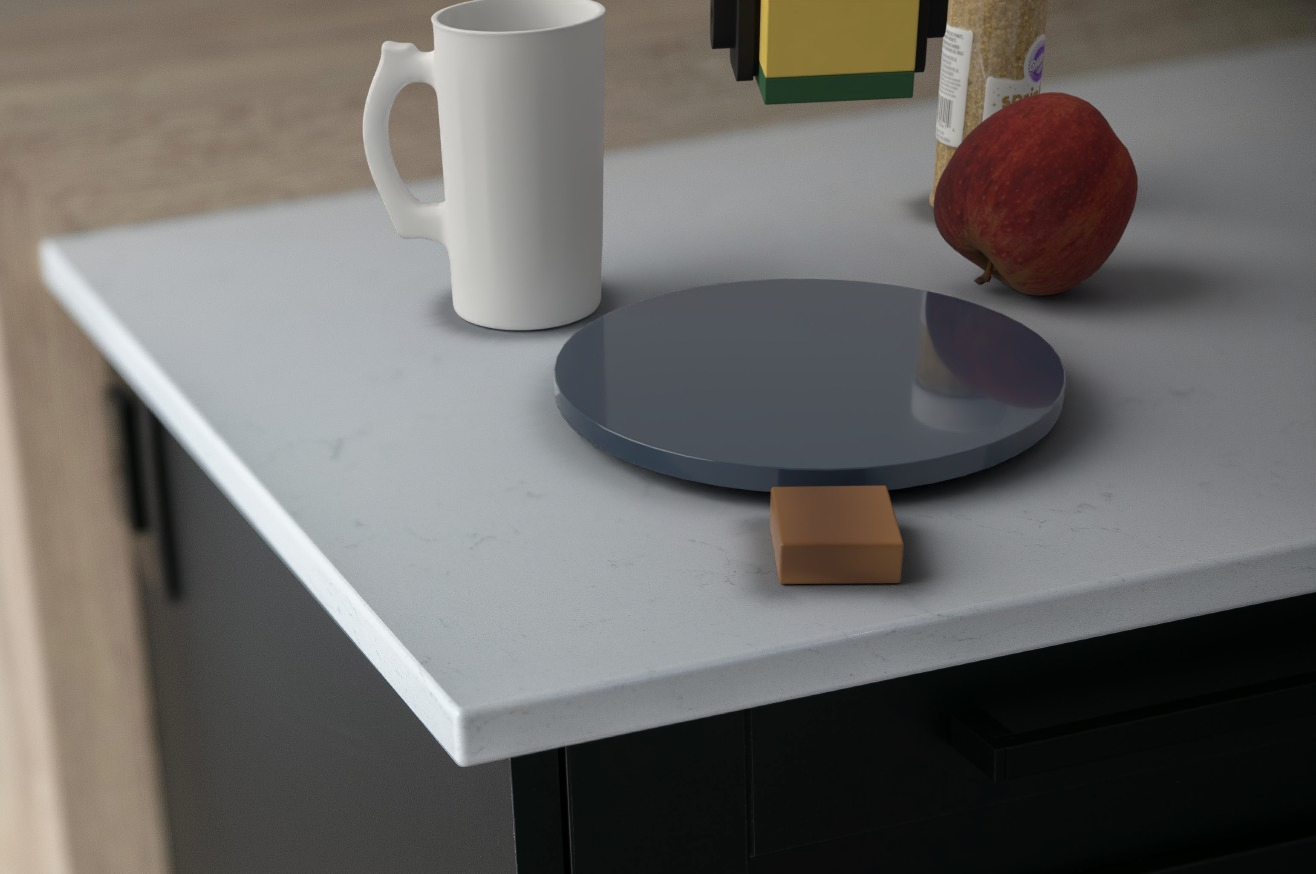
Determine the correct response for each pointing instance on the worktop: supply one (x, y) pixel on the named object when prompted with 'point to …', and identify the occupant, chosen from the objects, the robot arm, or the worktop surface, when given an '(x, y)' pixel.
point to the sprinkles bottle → (985, 66)
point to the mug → (507, 156)
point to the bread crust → (835, 535)
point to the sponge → (836, 50)
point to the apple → (1038, 194)
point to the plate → (809, 385)
